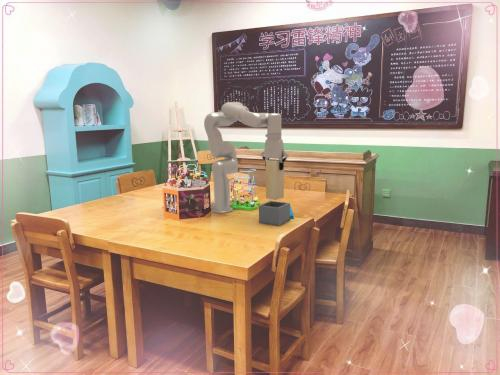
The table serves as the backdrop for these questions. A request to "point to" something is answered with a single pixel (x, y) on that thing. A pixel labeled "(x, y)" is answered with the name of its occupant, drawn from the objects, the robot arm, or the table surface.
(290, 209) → the lever
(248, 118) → the robot arm
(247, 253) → the table surface
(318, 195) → the table surface
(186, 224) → the table surface
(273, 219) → the box
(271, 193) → the beige tall block
